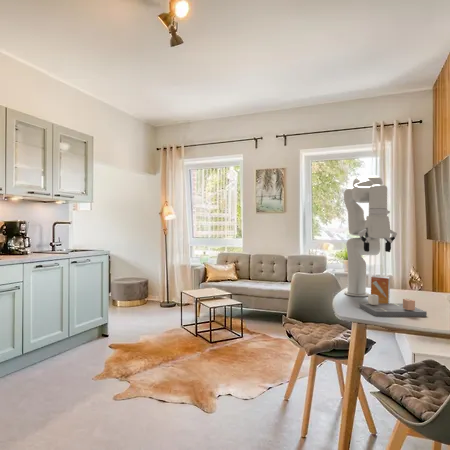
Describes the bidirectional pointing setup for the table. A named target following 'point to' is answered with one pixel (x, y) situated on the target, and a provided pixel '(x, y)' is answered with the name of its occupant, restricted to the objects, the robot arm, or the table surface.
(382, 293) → the small box
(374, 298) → the cream fader
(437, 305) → the table surface
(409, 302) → the block
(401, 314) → the plate
